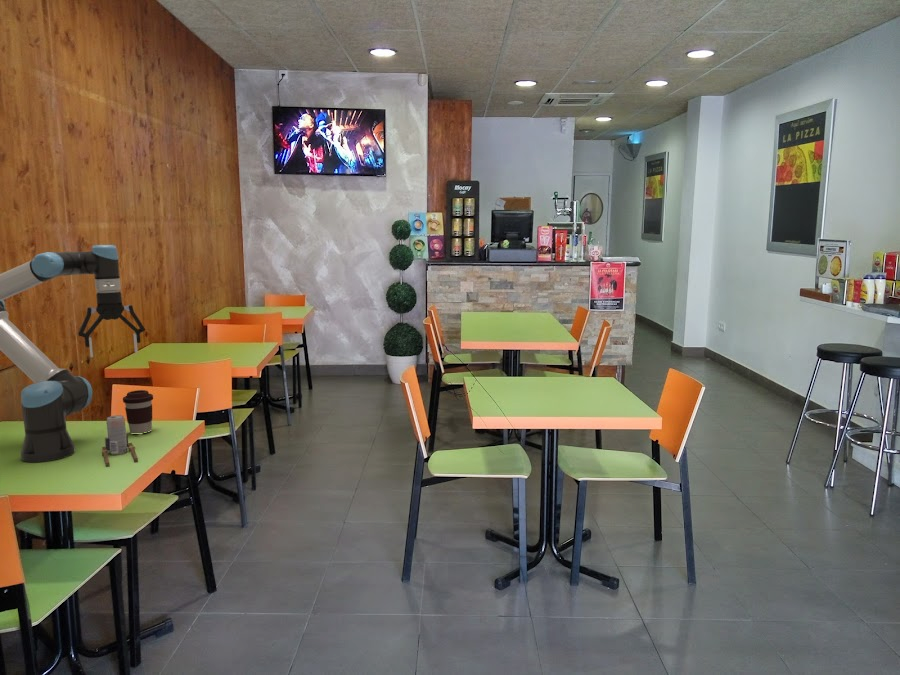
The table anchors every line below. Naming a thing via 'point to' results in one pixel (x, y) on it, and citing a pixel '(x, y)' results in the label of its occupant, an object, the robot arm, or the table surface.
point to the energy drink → (116, 435)
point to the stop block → (108, 443)
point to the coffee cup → (139, 411)
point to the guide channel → (131, 449)
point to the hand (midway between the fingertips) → (114, 354)
